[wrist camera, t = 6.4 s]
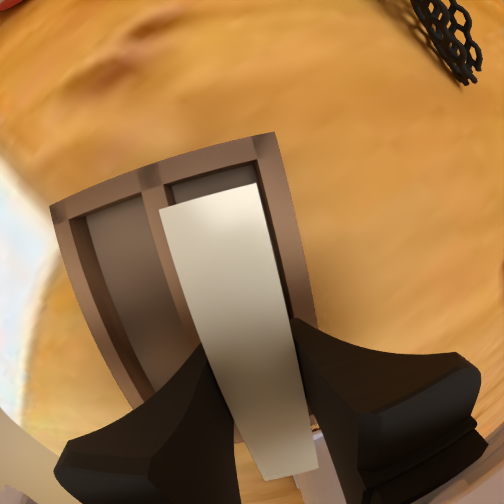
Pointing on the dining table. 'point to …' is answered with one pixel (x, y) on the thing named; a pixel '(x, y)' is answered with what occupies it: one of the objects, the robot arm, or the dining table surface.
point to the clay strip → (243, 323)
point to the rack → (167, 256)
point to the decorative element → (450, 37)
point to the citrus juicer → (8, 4)
